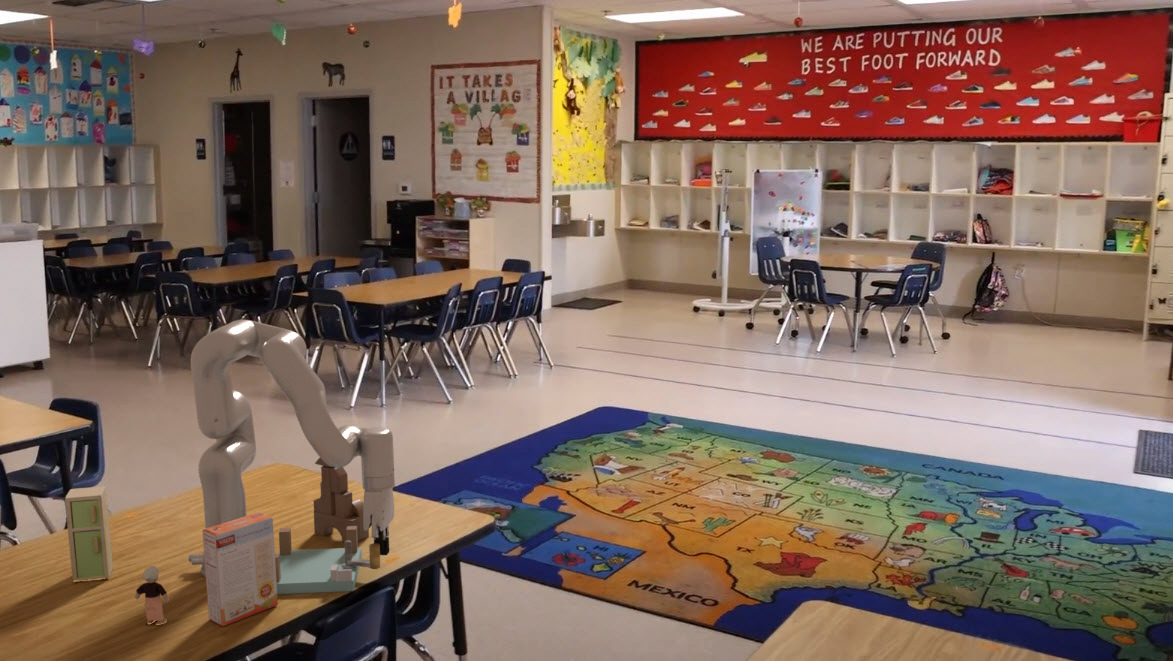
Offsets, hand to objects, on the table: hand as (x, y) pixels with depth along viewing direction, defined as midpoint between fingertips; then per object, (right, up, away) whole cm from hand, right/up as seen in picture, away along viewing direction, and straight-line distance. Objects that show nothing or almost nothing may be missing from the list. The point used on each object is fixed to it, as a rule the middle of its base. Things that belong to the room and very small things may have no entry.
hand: (382, 553), depth 253 cm
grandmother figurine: (-44, -10, -26) cm, 52 cm away
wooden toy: (-16, 0, +25) cm, 30 cm away
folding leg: (-4, -2, -2) cm, 5 cm away
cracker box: (-26, -9, -21) cm, 35 cm away
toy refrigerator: (-68, -5, -3) cm, 68 cm away
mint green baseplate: (-16, -5, -1) cm, 17 cm away
